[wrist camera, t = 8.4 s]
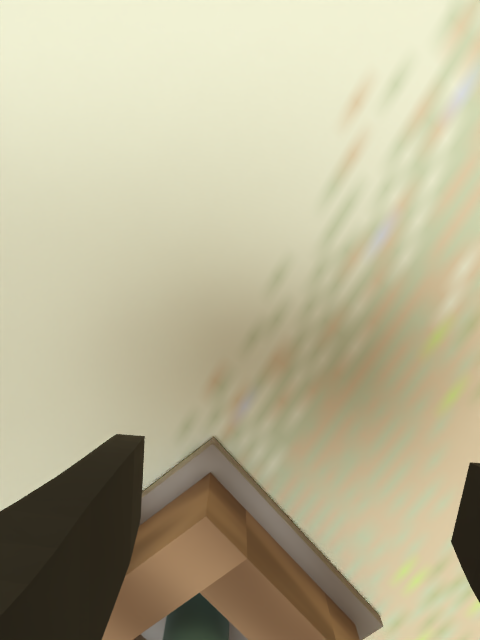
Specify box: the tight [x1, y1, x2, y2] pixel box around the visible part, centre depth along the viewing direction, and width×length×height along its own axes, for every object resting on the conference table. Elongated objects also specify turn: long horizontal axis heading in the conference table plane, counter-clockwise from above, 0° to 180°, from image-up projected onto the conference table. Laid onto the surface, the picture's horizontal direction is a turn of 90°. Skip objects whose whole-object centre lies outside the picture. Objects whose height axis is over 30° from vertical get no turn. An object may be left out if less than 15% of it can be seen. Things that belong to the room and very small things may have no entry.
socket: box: [102, 437, 383, 640], centre depth 21 cm, size 13×13×4 cm
